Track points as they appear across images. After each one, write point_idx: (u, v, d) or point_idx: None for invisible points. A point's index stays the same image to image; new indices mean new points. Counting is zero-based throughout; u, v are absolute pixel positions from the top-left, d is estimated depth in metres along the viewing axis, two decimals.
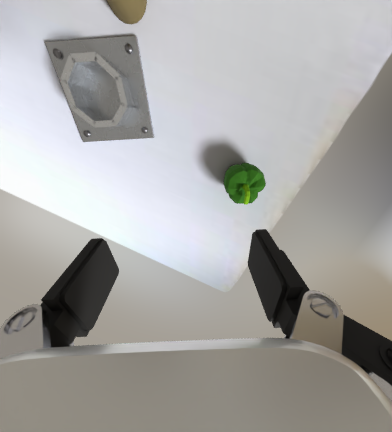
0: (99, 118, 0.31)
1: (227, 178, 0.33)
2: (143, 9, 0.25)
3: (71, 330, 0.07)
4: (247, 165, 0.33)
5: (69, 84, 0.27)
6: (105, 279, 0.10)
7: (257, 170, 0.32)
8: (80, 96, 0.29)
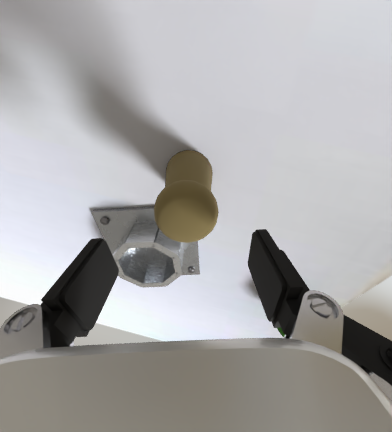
0: (144, 267, 0.28)
1: None
2: None
3: (71, 330, 0.07)
4: None
5: (119, 259, 0.24)
6: (105, 279, 0.10)
7: None
8: (127, 255, 0.26)
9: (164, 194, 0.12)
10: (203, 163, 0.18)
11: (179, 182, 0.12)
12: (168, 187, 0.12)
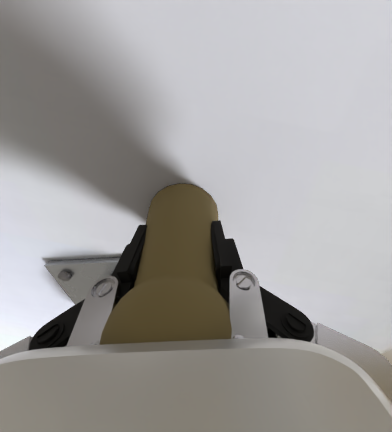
0: None
1: None
2: None
3: None
4: None
5: None
6: None
7: None
8: None
9: (112, 341, 0.05)
10: (205, 208, 0.11)
11: (153, 299, 0.05)
12: (126, 313, 0.05)
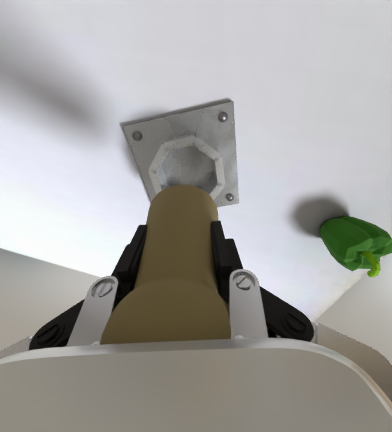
0: None
1: (341, 245, 0.27)
2: None
3: None
4: (367, 227, 0.26)
5: (157, 172, 0.22)
6: None
7: (388, 236, 0.24)
8: (162, 177, 0.24)
9: None
10: (205, 209, 0.11)
11: (153, 302, 0.05)
12: (126, 316, 0.05)
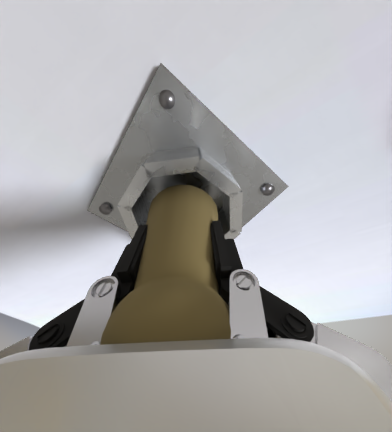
0: None
1: None
2: None
3: None
4: None
5: None
6: None
7: None
8: None
9: None
10: (205, 209, 0.11)
11: (153, 302, 0.05)
12: (126, 316, 0.05)
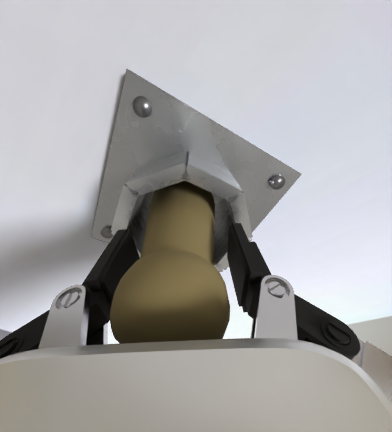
0: None
1: None
2: None
3: (108, 310, 0.08)
4: None
5: None
6: None
7: None
8: None
9: (125, 294, 0.06)
10: (202, 198, 0.12)
11: (157, 263, 0.06)
12: (135, 274, 0.06)
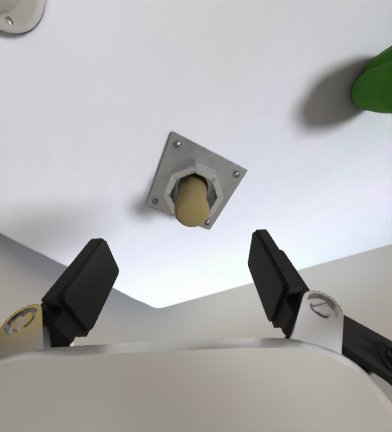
0: None
1: (382, 100, 0.20)
2: None
3: (71, 330, 0.07)
4: None
5: None
6: (105, 279, 0.10)
7: None
8: None
9: (180, 200, 0.22)
10: (201, 181, 0.29)
11: (188, 193, 0.23)
12: (182, 196, 0.23)
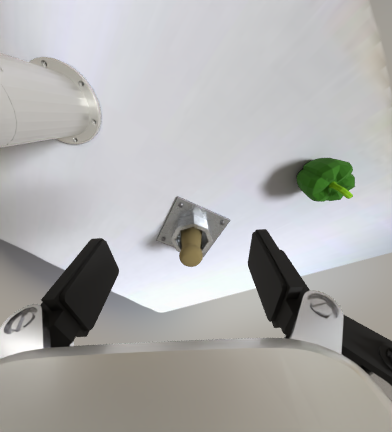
0: None
1: (308, 194, 0.33)
2: None
3: (71, 330, 0.07)
4: (314, 170, 0.31)
5: (180, 248, 0.43)
6: (105, 279, 0.10)
7: (329, 167, 0.29)
8: None
9: (184, 251, 0.35)
10: (197, 229, 0.41)
11: (188, 246, 0.35)
12: (185, 248, 0.35)
